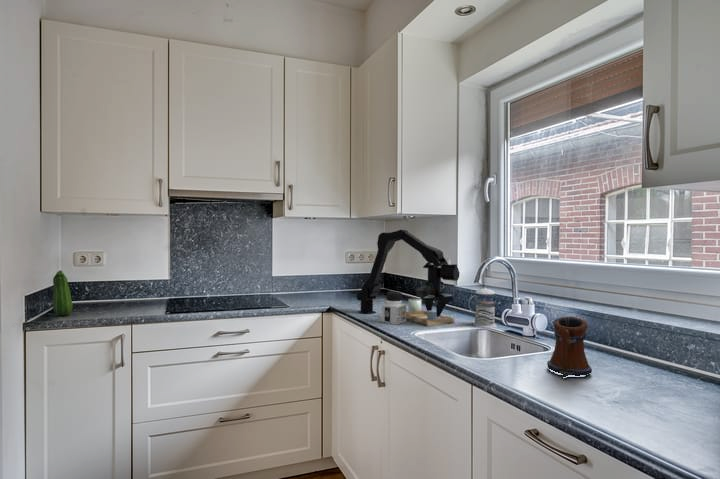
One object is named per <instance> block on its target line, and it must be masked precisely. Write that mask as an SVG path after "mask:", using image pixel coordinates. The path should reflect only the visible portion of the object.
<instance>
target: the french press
mask: <svg viewBox="0 0 720 479" xmlns="http://www.w3.org/2000/svg"><path fill="white" fill-rule="evenodd" d="M487 269H489V266H488V267H487V268H486V269H485V268H484V270H485V276H484V277H485V279H484V280H485V281H484V283H485V284H484V288H480V289H478V290H475V294H474V295H472V296H471V297H470V298H469V300H468V303H470V302H471V300H472V299H473V298H475V299H476V300H477V294H478V295H483V296H484V299H486V296H487V295H488V296H494V295H495V294H496V292H495V291H494V290H492V289H489V288H487V286H486V285H487V284H486V283H487V277H486V276H487ZM476 303H477V304H475V311H474V310H473V309H471V307H470V305H468V307H469V311H470V312H472V313H473V314H474V322H473V324H472V325H473V327H478V328H485V329H491V328H492V329H493V328H497V327H498V326H497V324H496V323H495V318H496V317H495V311H496V310H495V305H494V304H495V302H494V301H490V300H477V301H476Z"/></svg>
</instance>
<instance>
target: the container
mask: <svg viewBox="0 0 720 479" xmlns="http://www.w3.org/2000/svg"><path fill="white" fill-rule="evenodd" d="M402 302H403V293H402V292H401V291H396V290H394V291H388V292H386V303H383V304H381V322H382V323H384V322H385V324H390V323H391V325H399V324H403V323H406V322H407V319H406V312H407V304H406V303H402Z"/></svg>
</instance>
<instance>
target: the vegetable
mask: <svg viewBox="0 0 720 479" xmlns="http://www.w3.org/2000/svg"><path fill="white" fill-rule="evenodd" d="M68 282H69V281H68V278H67V276H66V275H65V273H64V272H63V270H58V271H56V274H55V275H54V276H53V278H52V284H53V295H52V296H53V298H52V307H53V308H52V310H53V313H54V314H55V315H56V316H58V317H67V316H69V315H71V313H72V311H73V307H74V306H73V300H72V296H71V291H70V287H69V286H70V285H69V283H68Z"/></svg>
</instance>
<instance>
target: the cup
mask: <svg viewBox="0 0 720 479" xmlns="http://www.w3.org/2000/svg"><path fill="white" fill-rule="evenodd" d="M422 301H423V300H422V299H420V298H408V311H407V312H413V311H422Z"/></svg>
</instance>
